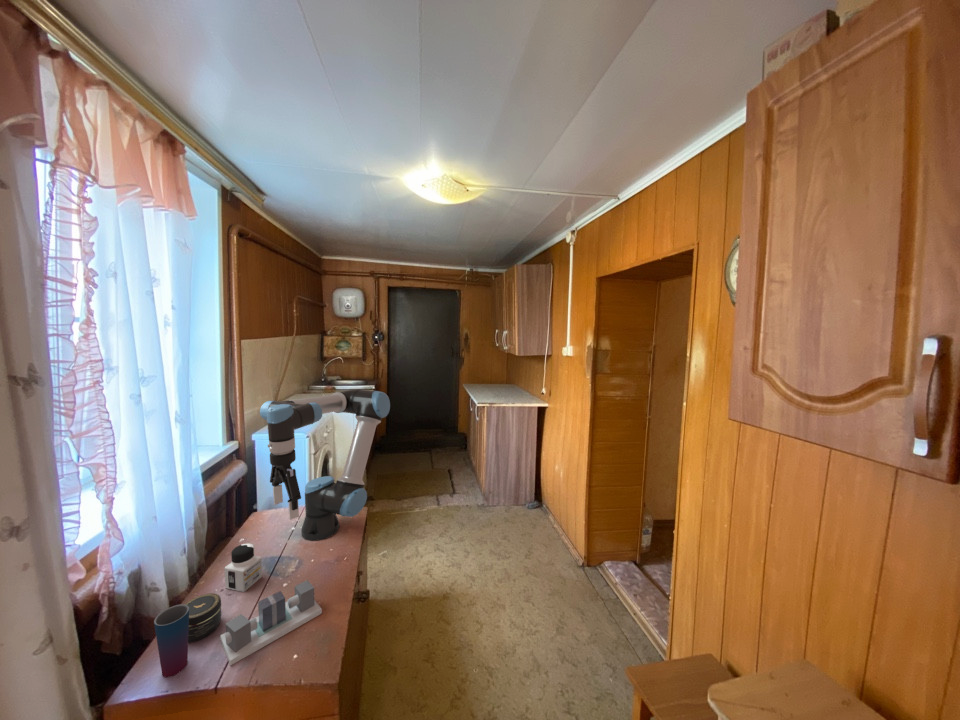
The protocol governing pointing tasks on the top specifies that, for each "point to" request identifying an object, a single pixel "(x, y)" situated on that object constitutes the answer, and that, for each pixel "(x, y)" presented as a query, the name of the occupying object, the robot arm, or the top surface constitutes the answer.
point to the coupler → (271, 611)
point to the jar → (203, 616)
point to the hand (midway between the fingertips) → (286, 510)
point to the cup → (172, 639)
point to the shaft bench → (250, 636)
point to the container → (243, 568)
